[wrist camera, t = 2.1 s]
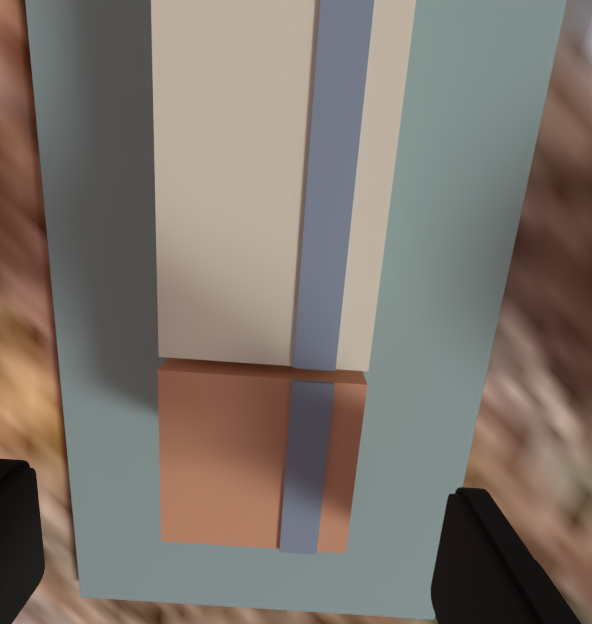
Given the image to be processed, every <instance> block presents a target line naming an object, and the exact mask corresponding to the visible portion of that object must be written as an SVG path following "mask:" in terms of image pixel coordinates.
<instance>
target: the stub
mask: <svg viewBox="0 0 592 624" xmlns="http://www.w3.org/2000/svg"><path fill="white" fill-rule="evenodd" d="M157 374H158V419H159V463H160V507H161V541H165V542H180V543H196V544H211V545H226V546H242V547H257V548H272V549H280V550H279V552H281V553H296V554H311V555H317V551H318V552H333V553H346V548H347V540H348V532H349V524H350V517H351V509H352V501H353V494H354V486H355V478H356V470H357V463H358V455H359V447H360V440H361V432H362V424H363V416H364V409H365V401H366V393H367V386H368V385H367V382H366V379H365V377H364V374H363V371H354V370H340V369H336V370H335V371H328V370H313V369H299V368H293V366H283V365H268V364H254V363H240V362H225V361H211V360H197V359H182V358H167V360H166V361H165V362H164V363H163V364H162V365H161V367H160V368H159V369H158V370H157Z"/></svg>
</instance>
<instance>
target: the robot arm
mask: <svg viewBox="0 0 592 624" xmlns="http://www.w3.org/2000/svg"><path fill="white" fill-rule="evenodd" d="M44 569H45V561H44V551H43V540H42V530H41V520H40V510H39V500H38V489H37V479H36V472H35V470H34V469H33V468H30V466H29V464H28V462H27V461H24V460H11V459H0V624H12V622H13V621H14V620H15V618H16V617H17V615H18V614H19V612H20V611H21V609H22V608H23V607H24V605H25V604H26V602H27V601H28V599H29V598H30V596H31V595H32V594H33V592H34V591H35V589H36V588H37V586H38V585H39V583H40V581H41V579H42V576H43V573H44ZM431 601H432V606H433V609H434V612H435V615H436V618H437V621H438V623H439V624H581V623H580V621H579V620H578V618H577V617H576V615H575V614H574V613H573V611H572V610H571V608H570V607H569V605H568V604H567V603H566V601H565V600H564V598H563V597H562V595H561V594H560V592H559V591H558V590H557V588H556V587H555V585H554V584H553V582H552V581H551V580H550V578H549V577H548V575H547V574H546V572H545V571H544V570H543V568H542V567H541V566H540V564H539V563H538V562H537V561H536V560H535V559H534V558H533V557H532V555H531V554H530V552H529V551H528V549H527V548H526V546H525V545H524V543H523V542H522V541H521V539H520V538H519V536H518V535H517V533H516V532H515V530H514V529H513V528H512V526H511V525H510V523H509V522H508V520H507V519H506V517H505V516H504V515H503V513H502V512H501V510H500V509H499V507H498V506H497V504H496V503H495V502H494V500H493V499H492V497H491V496H490V494H489V493H488V492H487V491H486V490H485V489H480V488H464V487H459V488H457V490H456V491H455V494H449V496H448V499H447V504H446V509H445V514H444V520H443V525H442V530H441V536H440V541H439V546H438V551H437V557H436V562H435V567H434V572H433V578H432V583H431Z"/></svg>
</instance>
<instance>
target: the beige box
mask: <svg viewBox="0 0 592 624" xmlns="http://www.w3.org/2000/svg"><path fill="white" fill-rule="evenodd" d="M415 6H416V0H151V26H152V73H153V119H154V166H155V212H156V259H157V305H158V352H159V357H168V358H182V359H197V360H211V361H225V362H240V363H254V364H268V365H283V366H293V368H299V369H313V370H328V371H335V370H336V369H340V370H354V371H369V363H370V355H371V347H372V340H373V332H374V324H375V316H376V309H377V301H378V293H379V285H380V278H381V270H382V262H383V254H384V247H385V239H386V231H387V223H388V216H389V208H390V200H391V192H392V185H393V177H394V169H395V161H396V154H397V146H398V138H399V130H400V123H401V115H402V107H403V99H404V91H405V84H406V76H407V68H408V60H409V53H410V45H411V37H412V29H413V22H414V14H415Z"/></svg>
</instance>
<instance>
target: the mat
mask: <svg viewBox="0 0 592 624" xmlns="http://www.w3.org/2000/svg"><path fill="white" fill-rule="evenodd" d="M566 1H567V0H416V6H415V14H414V22H413V29H412V37H411V45H410V53H409V60H408V68H407V76H406V84H405V91H404V99H403V107H402V115H401V123H400V130H399V138H398V146H397V154H396V161H395V169H394V177H393V185H392V192H391V200H390V208H389V216H388V223H387V231H386V239H385V247H384V254H383V262H382V270H381V278H380V285H379V293H378V301H377V309H376V316H375V324H374V332H373V340H372V347H371V355H370V363H369V371H363V374H364V377H365V379H366V382H367V385H368V386H367V393H366V401H365V409H364V416H363V424H362V432H361V440H360V447H359V455H358V463H357V470H356V478H355V486H354V494H353V501H352V509H351V517H350V524H349V532H348V540H347V548H346V553H333V552H318V551H317V555H311V554H296V553H281V552H279V550H280V549H272V548H257V547H242V546H226V545H211V544H196V543H180V542H165V541H161V507H160V463H159V419H158V374H157V370H158V369H159V368H160V367H161V365H162V364H163V363H164V362H165V361H166V360H167V358H168V357H159V352H158V305H157V259H156V212H155V166H154V119H153V73H152V26H151V0H25V3H26V14H27V25H28V36H29V47H30V57H31V68H32V79H33V90H34V100H35V111H36V122H37V133H38V144H39V154H40V165H41V176H42V187H43V197H44V208H45V219H46V230H47V241H48V251H49V262H50V273H51V284H52V295H53V305H54V316H55V327H56V338H57V348H58V359H59V370H60V381H61V392H62V402H63V413H64V424H65V435H66V445H67V456H68V467H69V478H70V489H71V499H72V510H73V521H74V532H75V542H76V553H77V564H78V575H79V586H80V596H81V597H88V598H103V599H119V600H135V601H150V602H166V603H182V604H198V605H213V606H229V607H245V608H260V609H276V610H292V611H307V612H323V613H339V614H354V615H370V616H386V617H402V618H417V619H433V620H434V617H435V612H434V609H433V606H432V601H431V583H432V578H433V572H434V567H435V562H436V557H437V551H438V546H439V541H440V536H441V530H442V525H443V520H444V514H445V509H446V504H447V499H448V496H449V494H455V491H456V490H457V488H459V487H463V482H464V477H465V473H466V468H467V463H468V459H469V454H470V449H471V445H472V440H473V435H474V431H475V426H476V421H477V417H478V412H479V407H480V403H481V398H482V393H483V389H484V384H485V379H486V375H487V370H488V365H489V361H490V356H491V351H492V347H493V342H494V337H495V333H496V328H497V323H498V319H499V314H500V309H501V305H502V300H503V295H504V291H505V286H506V281H507V277H508V272H509V267H510V263H511V258H512V253H513V249H514V244H515V239H516V235H517V230H518V225H519V221H520V216H521V211H522V207H523V202H524V197H525V193H526V188H527V183H528V179H529V174H530V169H531V165H532V160H533V155H534V151H535V146H536V141H537V137H538V132H539V127H540V123H541V118H542V113H543V109H544V104H545V99H546V95H547V90H548V85H549V81H550V76H551V71H552V67H553V62H554V57H555V52H556V48H557V43H558V38H559V34H560V29H561V24H562V20H563V15H564V10H565V6H566Z"/></svg>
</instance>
